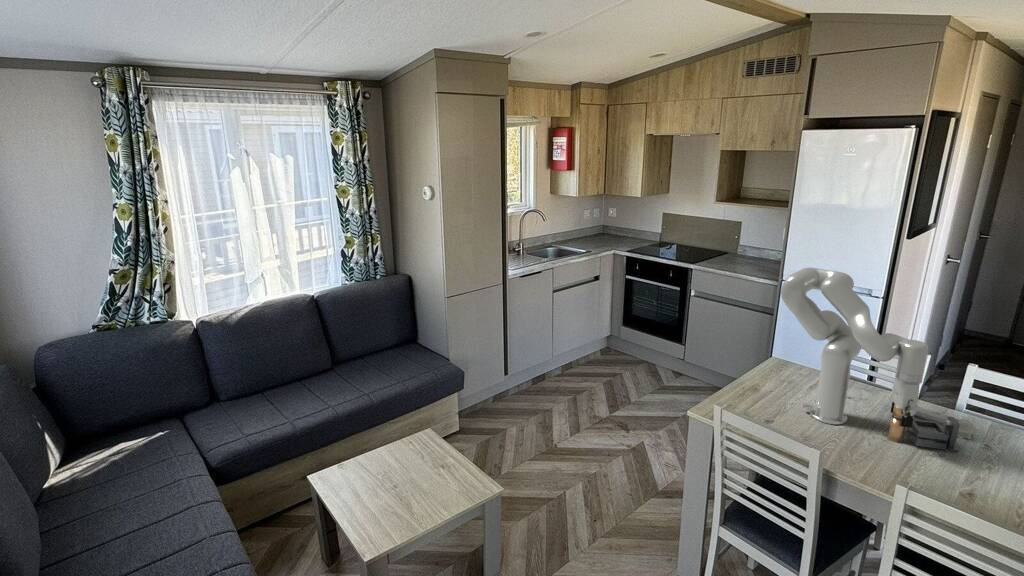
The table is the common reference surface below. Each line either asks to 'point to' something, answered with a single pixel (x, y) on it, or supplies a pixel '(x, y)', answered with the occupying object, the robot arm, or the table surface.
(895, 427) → the copper tube
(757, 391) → the table surface
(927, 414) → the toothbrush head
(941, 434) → the collar bracket
